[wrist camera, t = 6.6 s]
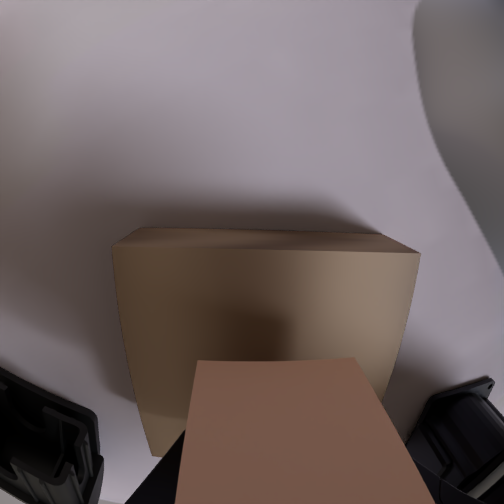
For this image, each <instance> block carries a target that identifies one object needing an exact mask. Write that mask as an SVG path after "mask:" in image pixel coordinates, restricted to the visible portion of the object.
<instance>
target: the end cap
mask: <svg viewBox="0 0 504 504" xmlns="http://www.w3.org/2000/svg"><path fill="white" fill-rule="evenodd" d="M103 473H104V458H103V456H101V455H100V442H99V432H98V419H97V416H96V414H95V413H94V412H93V411H91V410H89V409H87V408H85V407H82V406H79V405H77V404H75V403H72V402H70V401H67V400H65V399H63V398H60V397H58V396H56V395H54V394H52V393H49V392H47V391H45V390H43V389H41V388H39V387H37V386H35V385H33V384H31V383H29V382H27V381H25V380H23V379H21V378H19V377H17V376H16V375H14V374H12V373H10V372H8V371H7V370H5V369H3V368H1V367H0V489H2V490H3V491H5V492H7V493H8V494H10V495H12V496H13V497H15V498H17V499H18V500H20V501H22V502H23V503H25V504H98V501H99V497H100V492H101V487H102V481H103Z"/></svg>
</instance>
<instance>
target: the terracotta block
mask: <svg viewBox="0 0 504 504" xmlns="http://www.w3.org/2000/svg"><path fill="white" fill-rule="evenodd" d="M175 504H435V502H434V500H433V498H432V496H431V494H430V492H429V490H428V488H427V486H426V484H425V483H424V481H423V479H422V477H421V475H420V473H419V471H418V469H417V467H416V466H415V464H414V462H413V460H412V458H411V456H410V454H409V452H408V451H407V449H406V447H405V445H404V443H403V441H402V440H401V438H400V436H399V434H398V432H397V431H396V429H395V427H394V425H393V423H392V422H391V420H390V418H389V416H388V414H387V413H386V411H385V409H384V407H383V406H382V404H381V402H380V400H379V399H378V397H377V395H376V393H375V392H374V390H373V388H372V386H371V385H370V383H369V381H368V379H367V378H366V376H365V374H364V373H363V371H362V369H361V367H360V366H359V364H358V362H357V361H356V359H355V357H351V358H338V359H322V360H302V361H205V360H198V361H197V367H196V372H195V378H194V383H193V389H192V395H191V401H190V407H189V413H188V419H187V425H186V431H185V438H184V444H183V451H182V457H181V464H180V471H179V478H178V485H177V492H176V499H175Z"/></svg>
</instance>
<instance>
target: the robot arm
mask: <svg viewBox="0 0 504 504" xmlns="http://www.w3.org/2000/svg"><path fill="white" fill-rule="evenodd" d="M494 384H495V381H494V380H493V379H492V378H489V379H486V380H483V381H480V382H477V383H474V384H471V385H468V386H465V387H461V388H458V389H455V390H451V391H448V392H444V393H440V394H437V395H434V396H433V397H431V398H430V399H429V401H428V402H427V405H426V407H425V409H424V411H423V413H422V415H421V417H420V419H419V421H418V423H417V425H416V427H415V429H414V431H413V433H412V435H411V437H410V438H409V440H408V442H407V444H406V446H405V447H406V449H407V451H408V452H409V454H410V456H411V458H412V460H413V462H414V464H415V466H416V467H417V469H418V471H419V473H420V475H421V477H422V479H423V481H424V483H425V484H426V486H427V488H428V490H429V492H430V494H431V496H432V498H433V500H434V502H435V504H504V417H503V415H502V414H501V413H500V412H499V411H498V410H497V409H496V408H495V406H494V405H493V404H492V403H491V402H490V401H489V400H488V399H487V398H488V396H489V394H490V392H491V390H492V388H493V386H494ZM185 431H186V429H185V430H184V431H183V432H182V433H181V435H180V436H179V437H178V439H177V440H176V441H175V442H174V444H173V445H172V446H171V447H170V449H169V450H168V451H167V453H166V454H165V455H164V456H163V458H162V459H161V460H160V461H159V463H158V464H157V465H156V466H155V468H154V469H153V470H152V471H151V472H150V474H149V475H148V476H147V477H146V479H145V480H144V481H143V482H142V483H141V485H140V486H139V487H138V488H137V489H136V491H135V492H134V493H133V494H132V495H131V497H130V498H129V499H128V500H127V501H126V502H125V504H175V499H176V492H177V485H178V478H179V471H180V464H181V457H182V451H183V444H184V438H185Z"/></svg>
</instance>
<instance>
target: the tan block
mask: <svg viewBox="0 0 504 504" xmlns="http://www.w3.org/2000/svg"><path fill="white" fill-rule="evenodd" d="M420 255H421V253H419V252H417V251H415V250H413V249H411V248H409V247H407V246H405V245H403V244H401V243H399V242H397V241H395V240H393V239H391V238H389V237H387V236H385V235H382V234H361V233H338V232H312V231H283V230H248V229H202V228H139V229H137V230H136V231H134V232H133V233H131V234H130V235H128V236H126V237H125V238H123V239H122V240H120V241H119V242H117V243H116V244H114V245H113V246H112V258H113V268H114V278H115V287H116V295H117V303H118V310H119V317H120V323H121V329H122V335H123V341H124V346H125V352H126V357H127V362H128V367H129V371H130V376H131V381H132V385H133V389H134V393H135V398H136V402H137V406H138V409H139V413H140V417H141V421H142V424H143V428H144V431H145V435H146V438H147V441H148V444H149V448H150V451H151V454H152V456H156V457H163V456H164V455H165V454H166V453H167V451H168V450H169V449H170V447H171V446H172V445H173V444H174V442H175V441H176V440H177V439H178V437H179V436H180V435H181V433H182V432H183V431H184V430H185V429H186V425H187V419H188V413H189V407H190V401H191V395H192V389H193V383H194V378H195V372H196V367H197V361H198V360H205V361H302V360H322V359H338V358H351V357H355V359H356V361H357V362H358V364H359V366H360V367H361V369H362V371H363V373H364V374H365V376H366V378H367V379H368V381H369V383H370V385H371V386H372V388H373V390H374V392H375V393H376V395H377V397H378V399H379V400H380V402H382V400H383V397H384V394H385V391H386V389H387V386H388V383H389V380H390V377H391V374H392V371H393V368H394V365H395V361H396V358H397V355H398V351H399V348H400V345H401V341H402V337H403V334H404V330H405V326H406V322H407V318H408V314H409V310H410V306H411V301H412V297H413V292H414V288H415V283H416V278H417V272H418V267H419V261H420Z"/></svg>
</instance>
